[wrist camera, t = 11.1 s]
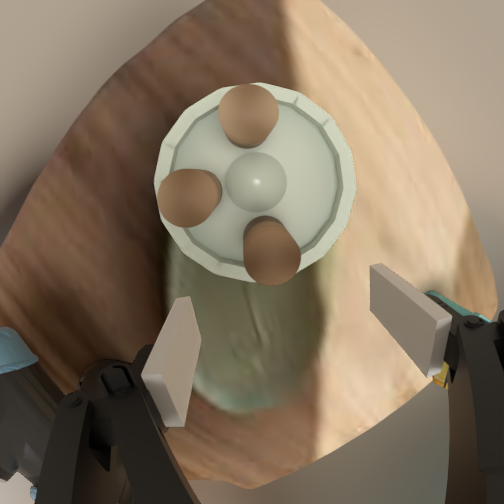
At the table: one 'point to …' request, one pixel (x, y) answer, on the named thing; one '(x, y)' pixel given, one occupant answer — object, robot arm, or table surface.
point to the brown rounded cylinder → (189, 196)
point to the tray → (263, 180)
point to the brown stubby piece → (270, 251)
